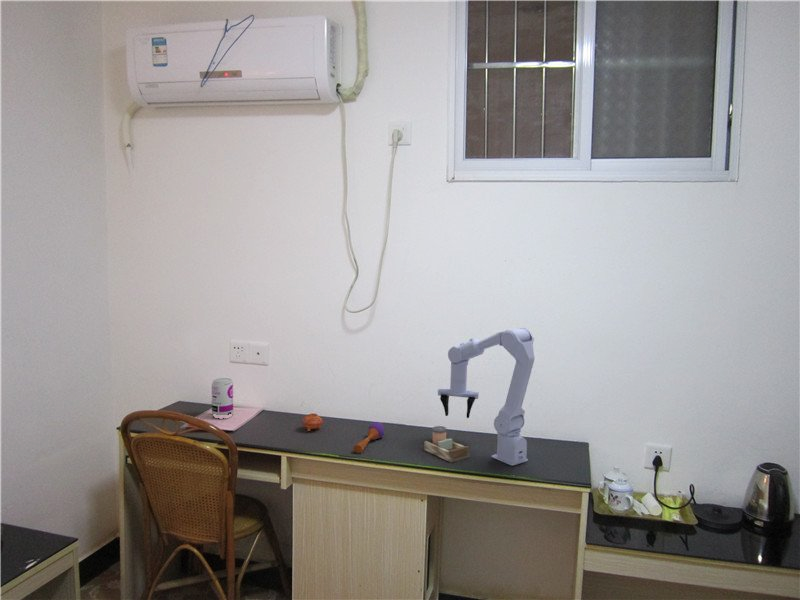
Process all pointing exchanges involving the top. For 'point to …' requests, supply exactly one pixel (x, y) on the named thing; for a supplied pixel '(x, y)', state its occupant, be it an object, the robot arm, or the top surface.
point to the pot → (312, 421)
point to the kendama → (370, 436)
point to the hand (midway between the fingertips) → (457, 416)
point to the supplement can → (222, 396)
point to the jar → (438, 434)
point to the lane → (448, 451)
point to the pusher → (445, 444)
